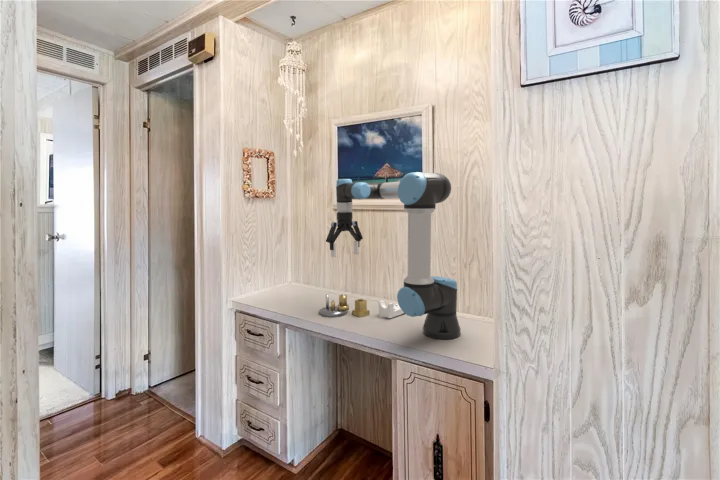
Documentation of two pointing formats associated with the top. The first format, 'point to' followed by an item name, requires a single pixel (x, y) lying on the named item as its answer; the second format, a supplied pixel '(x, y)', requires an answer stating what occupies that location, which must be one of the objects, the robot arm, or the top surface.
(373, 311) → the top surface
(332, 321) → the top surface
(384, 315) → the bracket
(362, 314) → the brass square sleeve
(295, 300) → the top surface
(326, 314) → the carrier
